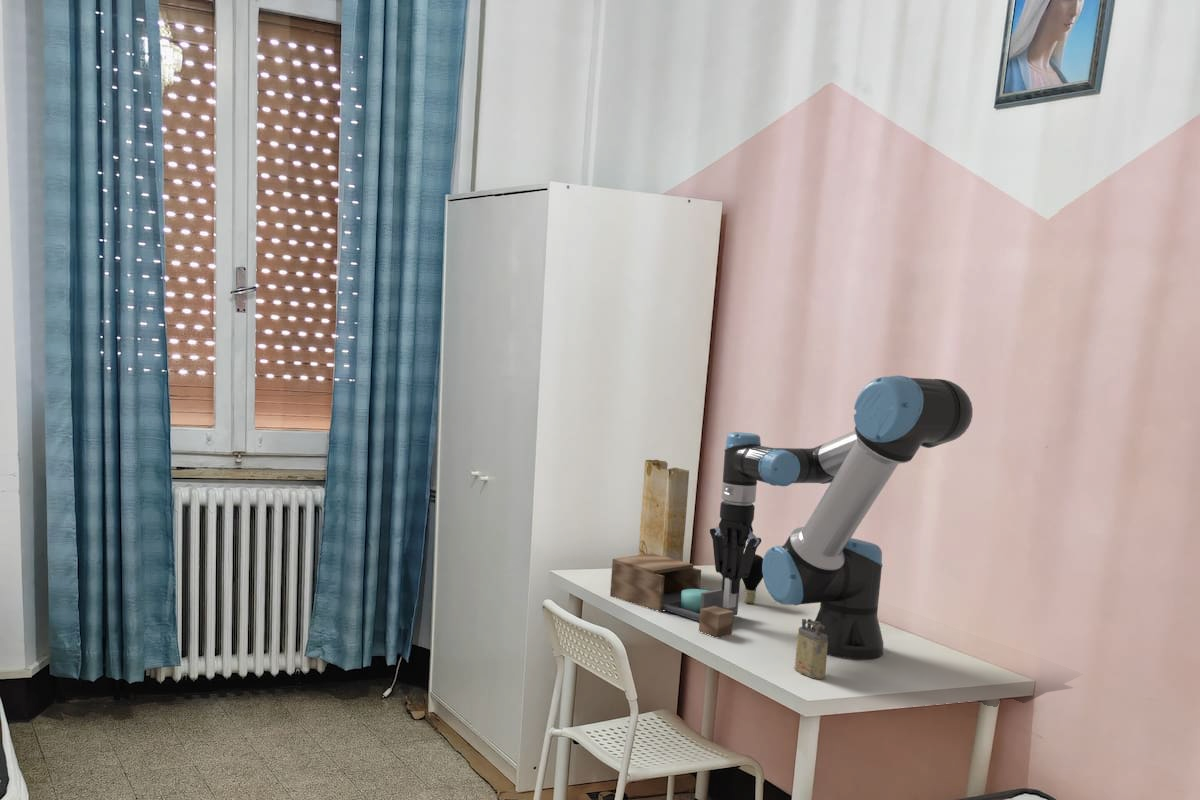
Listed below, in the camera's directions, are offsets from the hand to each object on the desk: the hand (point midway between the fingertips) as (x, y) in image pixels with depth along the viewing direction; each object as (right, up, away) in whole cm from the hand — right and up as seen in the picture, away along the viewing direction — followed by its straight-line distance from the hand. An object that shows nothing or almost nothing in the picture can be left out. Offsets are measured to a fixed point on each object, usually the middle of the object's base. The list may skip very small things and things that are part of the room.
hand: (729, 606), depth 218 cm
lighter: (+11, -6, -32) cm, 34 cm away
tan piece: (-13, -1, +41) cm, 43 cm away
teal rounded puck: (-6, -2, +6) cm, 9 cm away
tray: (-8, -2, +8) cm, 12 cm away
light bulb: (+8, -3, +19) cm, 21 cm away
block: (-4, -4, -9) cm, 11 cm away
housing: (-16, -2, +16) cm, 23 cm away
